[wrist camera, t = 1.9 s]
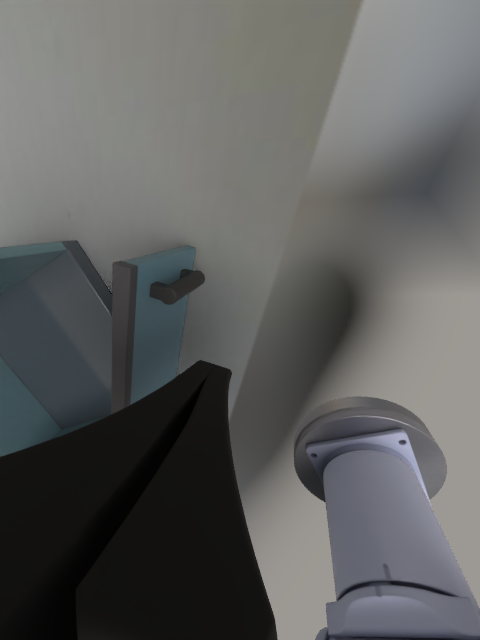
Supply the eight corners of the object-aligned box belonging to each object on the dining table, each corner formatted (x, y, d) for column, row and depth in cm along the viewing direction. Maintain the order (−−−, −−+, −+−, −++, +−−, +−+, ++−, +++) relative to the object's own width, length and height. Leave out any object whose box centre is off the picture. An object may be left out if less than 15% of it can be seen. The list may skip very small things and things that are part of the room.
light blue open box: (183, 397, 21) (124, 493, 13) (75, 428, 26) (-11, 511, 18) (81, 236, 17) (-79, 249, 10) (-24, 309, 22) (-181, 354, 15)
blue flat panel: (187, 405, 19) (140, 485, 13) (165, 397, 19) (110, 473, 13) (215, 253, 14) (160, 277, 8) (185, 244, 14) (111, 262, 8)
